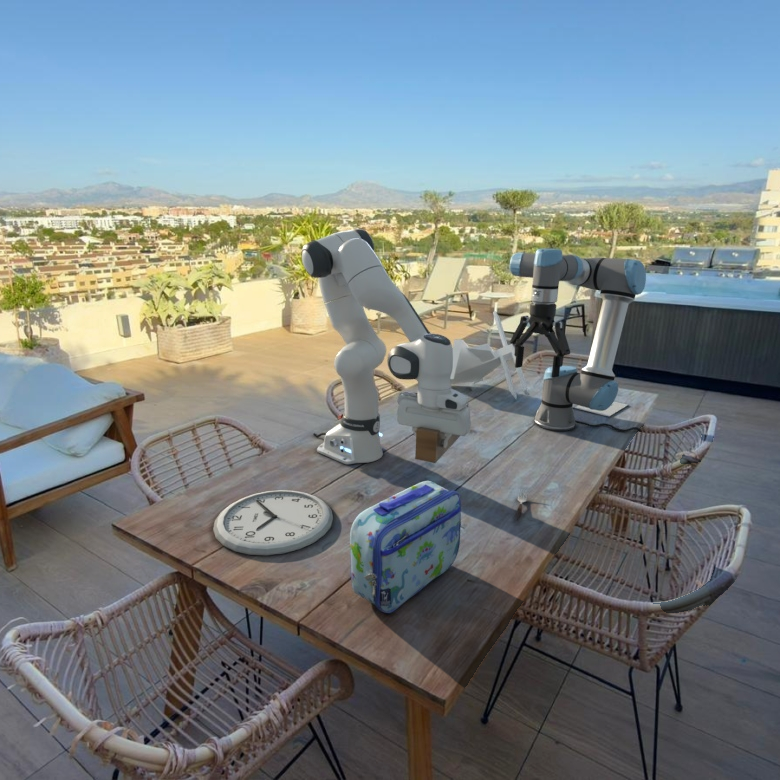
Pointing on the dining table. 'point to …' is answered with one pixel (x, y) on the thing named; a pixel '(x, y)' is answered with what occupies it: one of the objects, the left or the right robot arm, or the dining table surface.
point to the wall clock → (273, 522)
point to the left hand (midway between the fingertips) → (431, 444)
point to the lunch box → (404, 544)
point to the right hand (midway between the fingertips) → (536, 371)
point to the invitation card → (608, 412)
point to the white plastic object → (484, 361)
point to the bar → (431, 444)
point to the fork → (521, 499)
